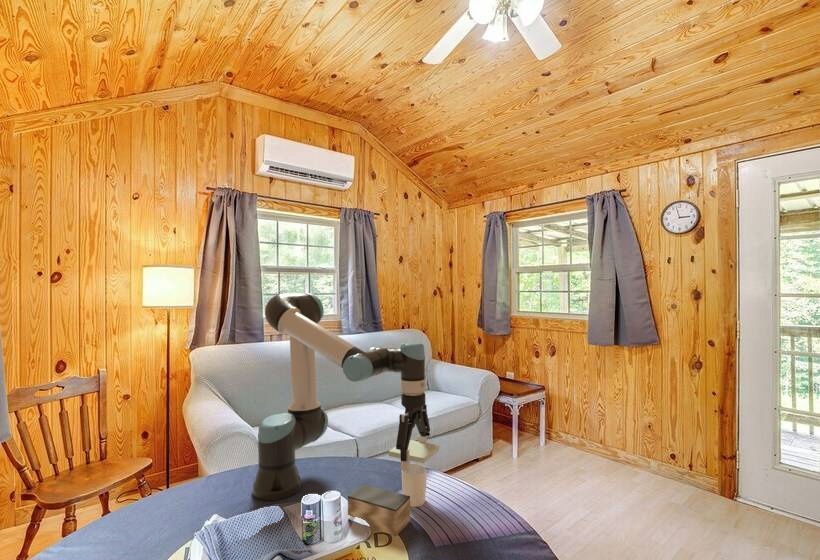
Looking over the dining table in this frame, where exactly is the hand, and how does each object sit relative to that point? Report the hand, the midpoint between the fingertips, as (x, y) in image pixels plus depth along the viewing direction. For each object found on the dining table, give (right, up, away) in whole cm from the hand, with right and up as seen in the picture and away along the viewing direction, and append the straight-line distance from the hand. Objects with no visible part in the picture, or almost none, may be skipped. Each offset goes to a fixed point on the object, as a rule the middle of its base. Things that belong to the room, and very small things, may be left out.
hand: (414, 463), depth 129 cm
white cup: (0, -12, 0) cm, 12 cm away
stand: (-10, -12, -11) cm, 19 cm away
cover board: (0, +3, 0) cm, 3 cm away
